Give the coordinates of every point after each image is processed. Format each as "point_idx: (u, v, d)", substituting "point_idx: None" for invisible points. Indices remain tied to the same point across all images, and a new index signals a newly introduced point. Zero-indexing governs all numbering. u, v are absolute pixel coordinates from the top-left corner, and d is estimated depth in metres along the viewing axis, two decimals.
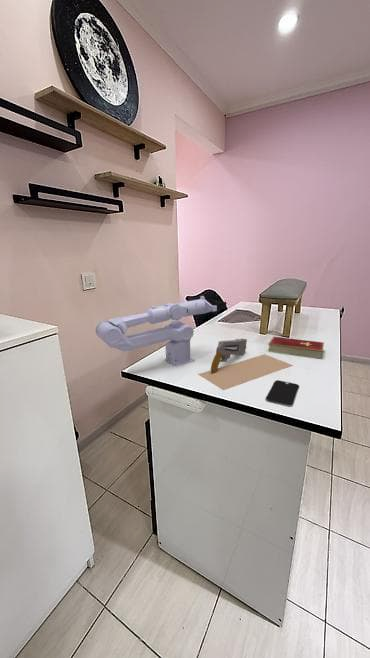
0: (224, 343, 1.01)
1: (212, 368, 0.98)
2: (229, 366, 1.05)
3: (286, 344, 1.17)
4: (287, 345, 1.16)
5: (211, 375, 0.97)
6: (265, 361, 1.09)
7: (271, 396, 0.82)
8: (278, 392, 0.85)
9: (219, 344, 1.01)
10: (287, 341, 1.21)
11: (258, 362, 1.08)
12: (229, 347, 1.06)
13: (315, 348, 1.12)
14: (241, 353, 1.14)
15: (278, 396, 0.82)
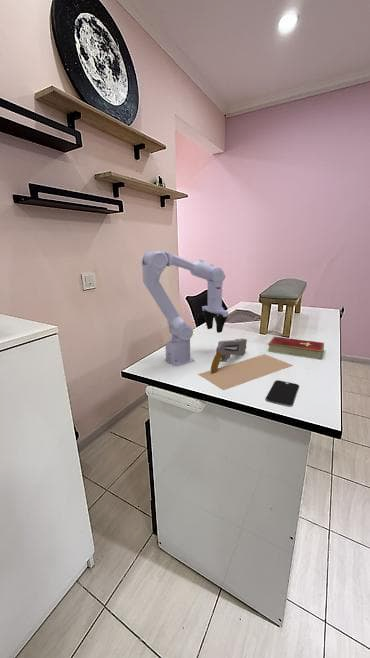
0: (224, 343, 1.01)
1: (212, 368, 0.98)
2: (229, 366, 1.05)
3: (286, 344, 1.17)
4: (287, 345, 1.16)
5: (211, 375, 0.97)
6: (265, 361, 1.09)
7: (271, 396, 0.82)
8: (278, 392, 0.85)
9: (219, 344, 1.01)
10: (287, 341, 1.21)
11: (258, 362, 1.08)
12: (229, 347, 1.06)
13: (315, 349, 1.11)
14: (241, 353, 1.14)
15: (278, 396, 0.82)
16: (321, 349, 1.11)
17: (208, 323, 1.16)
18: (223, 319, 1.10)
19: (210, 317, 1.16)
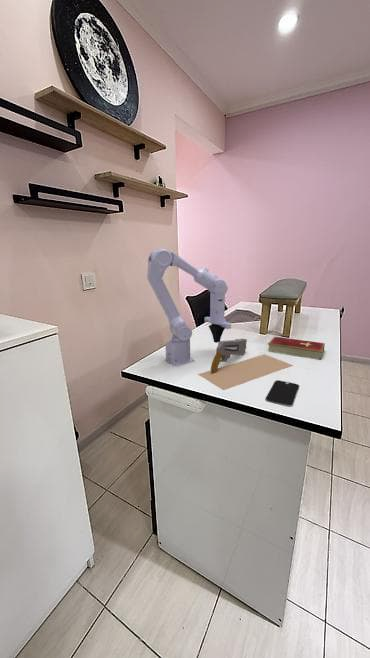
0: (224, 343, 1.01)
1: (212, 368, 0.98)
2: (229, 366, 1.05)
3: (286, 344, 1.17)
4: (286, 345, 1.16)
5: (211, 375, 0.97)
6: (265, 361, 1.09)
7: (271, 397, 0.82)
8: (278, 392, 0.85)
9: (219, 344, 1.01)
10: (287, 341, 1.21)
11: (258, 362, 1.08)
12: (229, 347, 1.06)
13: (315, 349, 1.11)
14: (241, 353, 1.14)
15: (278, 396, 0.82)
16: (321, 349, 1.10)
17: None
18: (221, 329, 1.12)
19: None
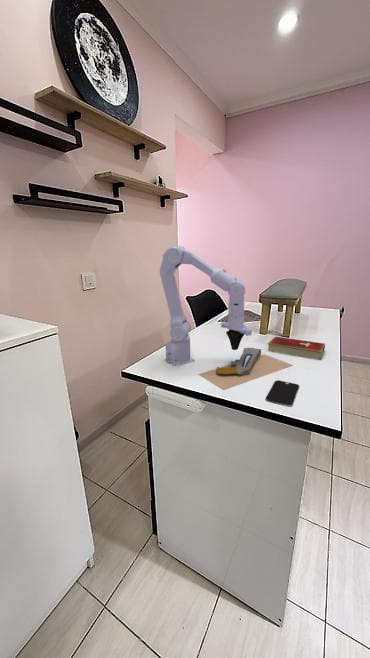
0: None
1: (219, 373, 0.97)
2: None
3: (285, 344, 1.17)
4: (286, 345, 1.16)
5: (211, 375, 0.97)
6: (265, 361, 1.09)
7: (271, 396, 0.82)
8: (278, 392, 0.85)
9: (245, 371, 0.97)
10: (287, 341, 1.21)
11: (258, 362, 1.08)
12: None
13: (314, 349, 1.11)
14: None
15: (278, 396, 0.82)
16: (320, 350, 1.10)
17: None
18: (240, 336, 1.04)
19: None
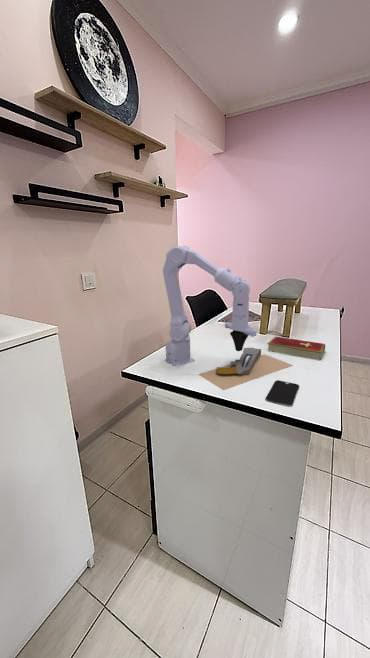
0: None
1: (219, 373, 0.97)
2: None
3: (285, 344, 1.17)
4: (286, 345, 1.16)
5: (211, 375, 0.97)
6: (265, 361, 1.09)
7: (271, 396, 0.82)
8: (278, 392, 0.85)
9: (245, 371, 0.97)
10: (287, 341, 1.21)
11: (258, 362, 1.08)
12: None
13: (314, 349, 1.11)
14: None
15: (278, 396, 0.82)
16: (320, 350, 1.10)
17: None
18: (244, 337, 1.02)
19: None
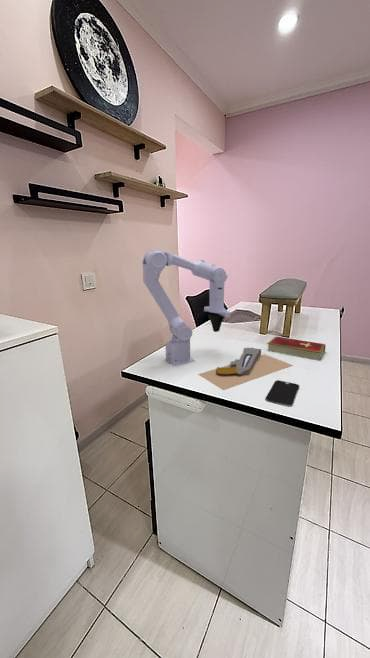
0: None
1: (219, 373, 0.97)
2: None
3: (285, 344, 1.17)
4: (286, 345, 1.16)
5: (211, 375, 0.97)
6: (265, 361, 1.09)
7: (271, 396, 0.82)
8: (278, 392, 0.85)
9: (245, 371, 0.97)
10: (287, 341, 1.21)
11: (258, 362, 1.08)
12: None
13: (314, 349, 1.10)
14: None
15: (278, 396, 0.82)
16: (320, 350, 1.10)
17: None
18: (220, 318, 1.12)
19: (216, 319, 1.13)
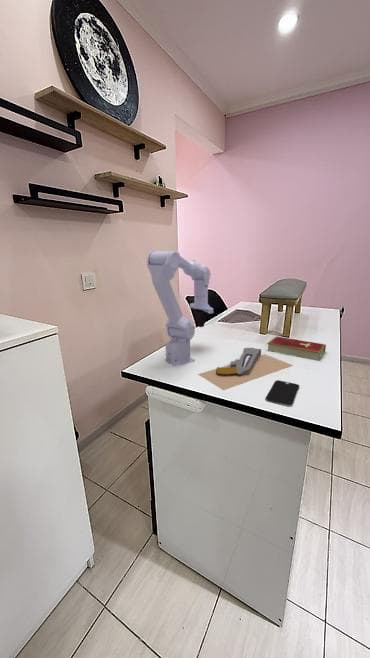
0: None
1: (219, 373, 0.97)
2: None
3: (285, 344, 1.17)
4: (286, 345, 1.16)
5: (211, 375, 0.97)
6: (265, 361, 1.09)
7: (271, 396, 0.82)
8: (278, 392, 0.85)
9: (245, 371, 0.97)
10: (287, 341, 1.20)
11: (258, 362, 1.08)
12: None
13: (313, 350, 1.10)
14: None
15: (278, 396, 0.82)
16: (319, 350, 1.09)
17: None
18: (205, 314, 1.19)
19: None
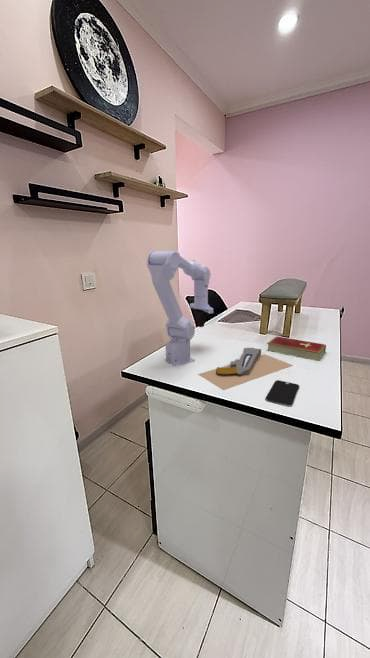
0: None
1: (219, 373, 0.97)
2: None
3: (285, 344, 1.17)
4: (285, 345, 1.16)
5: (211, 375, 0.97)
6: (265, 361, 1.09)
7: (271, 396, 0.82)
8: (278, 392, 0.85)
9: (245, 371, 0.97)
10: (287, 341, 1.20)
11: (258, 362, 1.08)
12: None
13: (313, 350, 1.10)
14: None
15: (278, 396, 0.82)
16: (319, 350, 1.09)
17: None
18: (205, 314, 1.19)
19: None
